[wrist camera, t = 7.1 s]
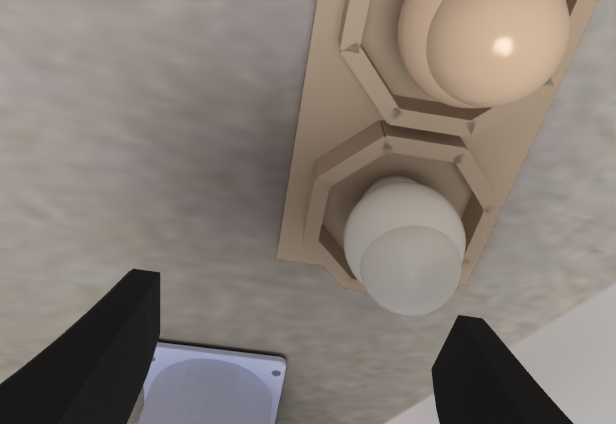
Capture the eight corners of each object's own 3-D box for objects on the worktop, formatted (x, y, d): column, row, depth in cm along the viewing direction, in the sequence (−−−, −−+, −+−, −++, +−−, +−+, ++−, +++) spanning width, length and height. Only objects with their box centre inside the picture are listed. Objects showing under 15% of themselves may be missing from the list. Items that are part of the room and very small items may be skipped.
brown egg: (492, 88, 16) (565, 158, 12) (373, 67, 16) (397, 131, 11) (546, -52, 14) (666, -36, 9) (407, -79, 14) (456, -77, 9)
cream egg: (428, 251, 20) (462, 355, 16) (331, 238, 20) (336, 339, 15) (461, 165, 18) (513, 256, 13) (352, 148, 18) (365, 235, 13)
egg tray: (460, 271, 22) (475, 307, 20) (278, 245, 22) (274, 281, 19) (624, -94, 14) (677, -97, 12) (340, -152, 14) (345, -166, 11)
